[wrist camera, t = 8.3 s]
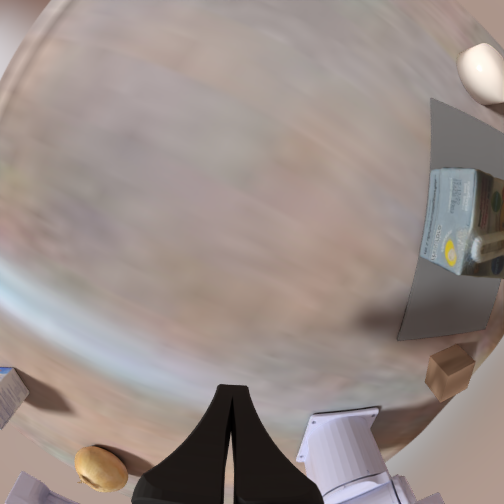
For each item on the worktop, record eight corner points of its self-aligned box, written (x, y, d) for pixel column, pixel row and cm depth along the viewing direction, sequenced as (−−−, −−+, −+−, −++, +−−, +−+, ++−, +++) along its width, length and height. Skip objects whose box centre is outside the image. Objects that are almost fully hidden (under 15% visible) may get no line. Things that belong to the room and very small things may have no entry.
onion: (134, 456, 27) (122, 495, 21) (129, 475, 29) (119, 508, 22) (81, 431, 26) (63, 467, 20) (82, 454, 28) (68, 485, 21)
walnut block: (450, 369, 25) (466, 388, 21) (424, 381, 25) (440, 402, 21) (456, 343, 24) (475, 361, 20) (429, 355, 24) (448, 376, 20)
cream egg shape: (495, 113, 17) (517, 110, 14) (459, 93, 17) (482, 86, 14) (488, 65, 16) (508, 59, 12) (452, 43, 16) (472, 33, 12)
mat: (484, 328, 24) (485, 329, 23) (396, 339, 23) (397, 340, 23) (515, 141, 18) (516, 141, 18) (430, 98, 17) (431, 97, 17)
